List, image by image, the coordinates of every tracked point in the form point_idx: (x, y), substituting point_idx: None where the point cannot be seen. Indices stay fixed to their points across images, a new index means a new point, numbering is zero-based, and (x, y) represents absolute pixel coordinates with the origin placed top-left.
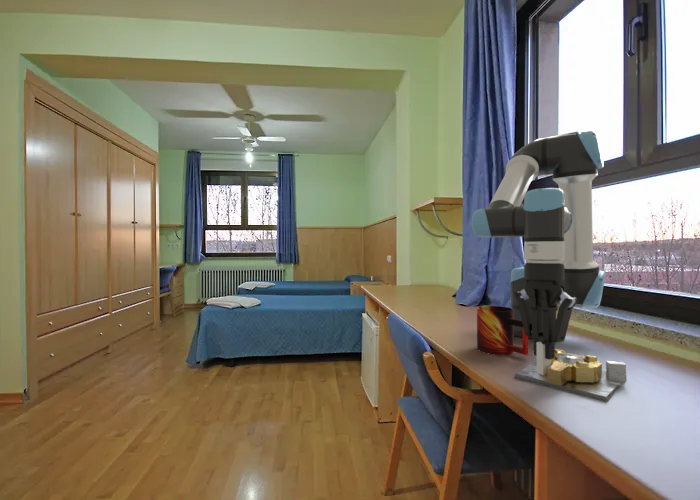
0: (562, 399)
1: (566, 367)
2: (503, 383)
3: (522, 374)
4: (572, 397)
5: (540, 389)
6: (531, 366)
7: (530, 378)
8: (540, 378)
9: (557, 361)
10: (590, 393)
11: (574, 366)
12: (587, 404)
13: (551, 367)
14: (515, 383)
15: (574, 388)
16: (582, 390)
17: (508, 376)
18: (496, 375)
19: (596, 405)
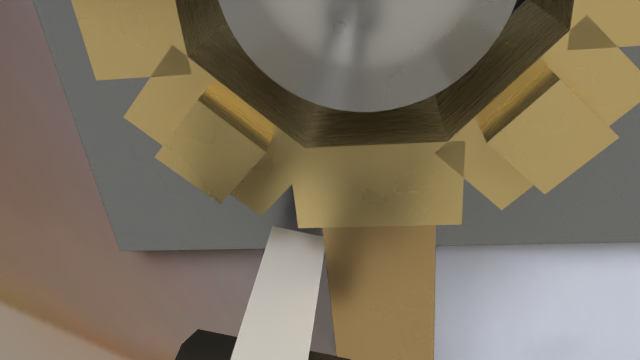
0: (458, 333)
1: (434, 259)
2: (164, 340)
3: (161, 238)
4: (491, 279)
5: (324, 291)
6: (63, 12)
7: (222, 244)
8: (269, 224)
9: (309, 154)
10: (588, 240)
11: (482, 189)
12: (575, 311)
13: (352, 337)
14: (196, 303)
15: (492, 242)
16: (540, 240)
17: (99, 237)
18: (57, 270)
19: (617, 294)
